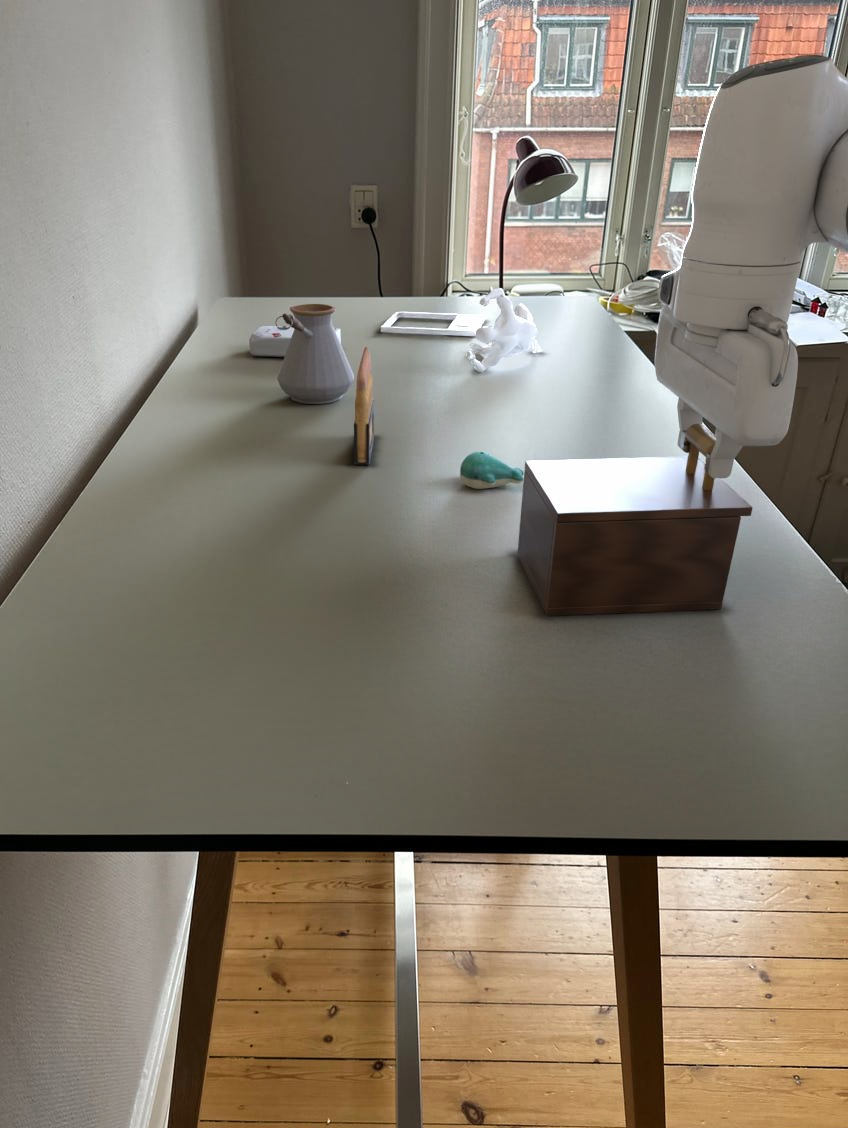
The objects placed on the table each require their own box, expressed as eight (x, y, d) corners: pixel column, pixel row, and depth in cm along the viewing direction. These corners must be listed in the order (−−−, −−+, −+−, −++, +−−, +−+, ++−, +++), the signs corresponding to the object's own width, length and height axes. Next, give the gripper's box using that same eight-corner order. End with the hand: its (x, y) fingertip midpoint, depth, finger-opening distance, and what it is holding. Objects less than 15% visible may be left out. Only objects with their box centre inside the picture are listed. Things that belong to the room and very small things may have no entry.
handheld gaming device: (261, 345, 166) (260, 324, 164) (341, 348, 164) (340, 326, 162) (248, 358, 159) (246, 336, 157) (331, 361, 157) (330, 338, 155)
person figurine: (483, 284, 158) (484, 283, 141) (555, 303, 157) (564, 304, 141) (462, 361, 162) (461, 369, 146) (532, 379, 162) (539, 389, 145)
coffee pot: (290, 384, 144) (285, 283, 136) (361, 388, 142) (360, 286, 134) (248, 426, 126) (239, 313, 118) (329, 431, 124) (326, 316, 116)
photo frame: (475, 330, 170) (380, 325, 174) (474, 336, 171) (380, 331, 175) (485, 314, 183) (396, 310, 186) (484, 319, 183) (396, 316, 187)
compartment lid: (694, 463, 87) (704, 409, 84) (751, 516, 76) (764, 456, 74) (524, 468, 86) (529, 414, 84) (556, 522, 75) (563, 462, 73)
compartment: (671, 548, 92) (686, 464, 87) (721, 609, 81) (741, 517, 76) (517, 554, 91) (524, 469, 86) (546, 616, 80) (556, 523, 75)
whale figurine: (462, 474, 110) (463, 443, 108) (523, 477, 109) (526, 446, 107) (457, 491, 105) (458, 460, 103) (522, 495, 104) (524, 463, 102)
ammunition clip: (369, 465, 113) (368, 366, 106) (354, 465, 113) (352, 366, 107) (374, 437, 122) (373, 344, 116) (360, 437, 122) (359, 344, 116)
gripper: (836, 323, 65) (791, 507, 72) (722, 274, 82) (694, 425, 89) (749, 325, 64) (712, 509, 71) (652, 275, 82) (631, 427, 89)
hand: (702, 462), depth 80 cm, fingers closed on compartment lid, 5 cm apart
